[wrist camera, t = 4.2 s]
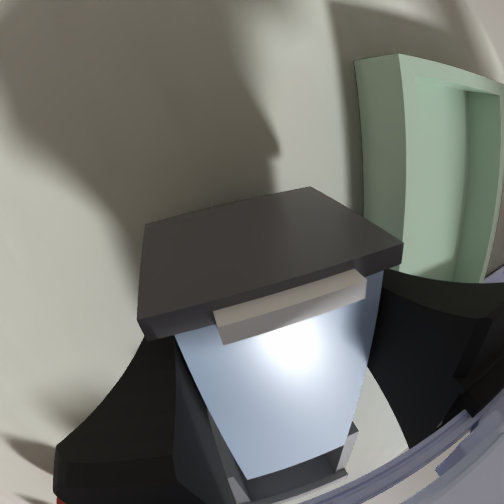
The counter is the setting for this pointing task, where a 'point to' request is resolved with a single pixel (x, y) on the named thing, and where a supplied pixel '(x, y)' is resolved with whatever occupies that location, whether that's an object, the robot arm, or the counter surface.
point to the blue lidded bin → (270, 317)
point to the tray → (432, 162)
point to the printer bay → (285, 473)
